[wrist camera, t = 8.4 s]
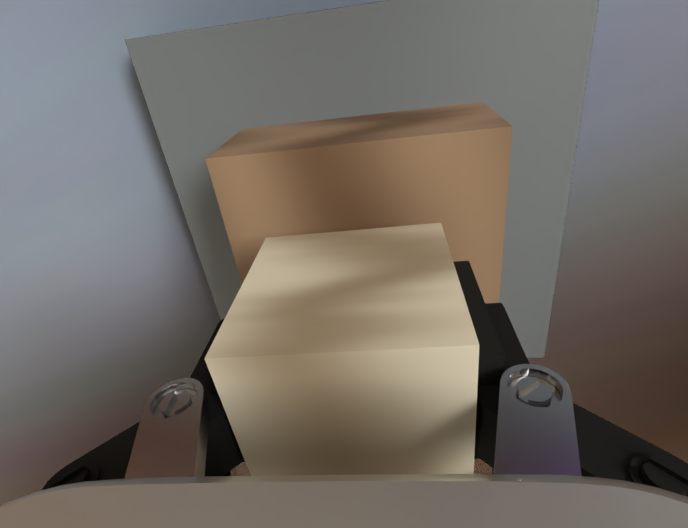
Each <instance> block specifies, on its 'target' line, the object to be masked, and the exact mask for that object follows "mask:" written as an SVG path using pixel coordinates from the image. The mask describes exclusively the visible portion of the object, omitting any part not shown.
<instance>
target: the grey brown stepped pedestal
mask: <svg viewBox="0 0 688 528" xmlns="http://www.w3.org/2000/svg"><path fill="white" fill-rule="evenodd" d="M598 6H599V0H388V1H381V2H374V3H368V4H361V5H354V6H348V7H341V8H334V9H327V10H321V11H314V12H307V13H301V14H294V15H287V16H280V17H274V18H267V19H260V20H254V21H247V22H240V23H234V24H227V25H220V26H213V27H207V28H200V29H193V30H187V31H180V32H173V33H166V34H160V35H153V36H146V37H140V38H133V39H126V40H125V42H126V45H127V48H128V51H129V54H130V57H131V60H132V63H133V65H134V68H135V71H136V74H137V77H138V80H139V83H140V86H141V89H142V92H143V95H144V98H145V101H146V103H147V106H148V109H149V112H150V115H151V118H152V121H153V124H154V127H155V130H156V133H157V136H158V139H159V141H160V144H161V147H162V150H163V153H164V156H165V159H166V162H167V165H168V168H169V171H170V174H171V177H172V180H173V182H174V185H175V188H176V191H177V194H178V197H179V200H180V203H181V206H182V209H183V212H184V215H185V218H186V220H187V223H188V226H189V229H190V232H191V235H192V238H193V241H194V244H195V247H196V250H197V253H198V256H199V258H200V261H201V264H202V267H203V270H204V273H205V276H206V279H207V282H208V285H209V288H210V291H211V294H212V297H213V299H214V302H215V305H216V308H217V311H218V314H219V317H220V320H222V319H225V317H226V315H227V313H228V311H229V309H230V307H231V305H232V303H233V301H234V300H235V298H236V296H237V294H238V292H239V290H240V288H241V286H242V284H243V282H244V280H245V278H246V276H247V274H248V272H249V270H250V268H251V266H252V264H253V262H254V260H255V258H256V256H257V254H258V252H259V250H260V248H261V246H262V244H263V243H264V241H265V239H266V238H269V237H280V236H292V235H304V234H315V233H327V232H338V231H350V230H361V229H373V228H385V227H396V226H408V225H419V224H431V223H441V224H442V227H443V230H444V234H445V237H446V240H447V243H448V246H449V250H450V253H451V256H452V259H453V262H455V261H469V262H470V265H471V267H472V270H473V273H474V275H475V278H476V281H477V283H478V286H479V288H480V291H481V294H482V296H483V299H484V302H485V303H502V304H503V306H504V308H505V310H506V312H507V314H508V317H509V319H510V321H511V323H512V326H513V328H514V330H515V332H516V335H517V337H518V339H519V341H520V344H521V346H522V348H523V350H524V353H525V355H526V357H527V358H540V357H544V355H545V348H546V342H547V335H548V329H549V322H550V316H551V309H552V303H553V296H554V290H555V284H556V277H557V271H558V264H559V258H560V251H561V245H562V238H563V232H564V225H565V219H566V213H567V206H568V200H569V193H570V187H571V180H572V174H573V167H574V161H575V154H576V148H577V141H578V135H579V129H580V122H581V116H582V109H583V103H584V96H585V90H586V83H587V77H588V70H589V64H590V58H591V51H592V45H593V38H594V32H595V25H596V19H597V12H598Z"/></svg>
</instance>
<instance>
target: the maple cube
mask: <svg viewBox="0 0 688 528" xmlns="http://www.w3.org/2000/svg"><path fill="white" fill-rule="evenodd" d="M204 359H205V362H206V364H207V367H208V369H209V372H210V374H211V377H212V379H213V382H214V384H215V387H216V389H217V392H218V394H219V397H220V399H221V402H222V405H223V407H224V410H225V412H226V415H227V417H228V420H229V422H230V425H231V427H232V430H233V432H234V435H235V437H236V440H237V442H238V445H239V447H240V450H241V453H242V455H243V458H244V460H245V463H246V465H247V468H248V470H249V473H250V475H251V476H277V475H377V474H474V455H475V432H476V410H477V388H478V366H479V342H478V339H477V336H476V332H475V329H474V326H473V323H472V320H471V316H470V313H469V310H468V307H467V304H466V301H465V297H464V294H463V291H462V288H461V285H460V281H459V278H458V275H457V272H456V269H455V265H454V262H453V259H452V256H451V253H450V250H449V246H448V243H447V240H446V237H445V234H444V230H443V227H442V224H441V223H431V224H419V225H408V226H396V227H385V228H373V229H361V230H350V231H338V232H327V233H315V234H304V235H292V236H280V237H269V238H266V239H265V241H264V243H263V244H262V246H261V248H260V250H259V252H258V254H257V256H256V258H255V260H254V262H253V264H252V266H251V268H250V270H249V272H248V274H247V276H246V278H245V280H244V282H243V284H242V286H241V288H240V290H239V292H238V294H237V296H236V298H235V300H234V301H233V303H232V305H231V307H230V309H229V311H228V313H227V315H226V317H225V319H224V321H223V323H222V325H221V327H220V329H219V331H218V333H217V335H216V337H215V339H214V341H213V343H212V345H211V347H210V349H209V351H208V353H207V355H206V356H205V358H204Z"/></svg>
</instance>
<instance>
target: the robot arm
mask: <svg viewBox="0 0 688 528" xmlns="http://www.w3.org/2000/svg"><path fill="white" fill-rule="evenodd" d="M454 265H455V269H456V272H457V275H458V278H459V281H460V285H461V288H462V291H463V294H464V297H465V301H466V304H467V307H468V310H469V313H470V316H471V320H472V323H473V326H474V329H475V332H476V336H477V339H478V342H479V366H478V388H477V410H476V432H475V455H474V459H479V458H480V459H481V460H483V461H484V462H485V463H487V464H488V465H490V466H491V467H492V468H493V469H492V474H377V475H277V476H236V466H237V465H239V464H240V463H241V462H245V460H244V458H243V455H242V453H241V450H240V447H239V445H238V442H237V440H236V437H235V435H234V432H233V430H232V427H231V425H230V422H229V420H228V417H227V415H226V412H225V410H224V407H223V405H222V402H221V399H220V397H219V394H218V392H217V389H216V387H215V384H214V382H213V379H212V377H211V374H210V372H209V369H208V367H207V364H206V362H205V359H204V358H205V356H206V355H207V353H208V351H209V349H210V347H211V345H212V343H213V341H214V339H215V337H216V335H217V333H218V331H219V329H220V327H221V325H222V323H223V321H224V319H222V320H221V321H220V322H219V324H218V325H217V327H216V329H215V331H214V333H213V335H212V337H211V339H210V341H209V343H208V345H207V346H206V348H205V350H204V352H203V354H202V356H201V358H200V360H199V362H198V364H197V366H196V367H195V369H194V371H193V373H192V375H191V377H190V378H179V379H175V380H173V381H170V382H168V383H166V384H164V385H162V386H160V387H159V388H158V389H157V390H155V391H154V392H153V393H152V394H151V395H150V397H149V398H148V399H147V401H146V403H145V405H144V408H143V411H142V415H141V419H140V422H138V423H137V424H135V425H133V426H132V427H130V428H128V429H127V430H125V431H123V432H122V433H120V434H118V435H117V436H115V437H113V438H112V439H110V440H108V441H107V442H105V443H103V444H102V445H100V446H98V447H97V448H95V449H93V450H92V451H90V452H89V453H87V454H85V455H84V456H82V457H80V458H79V459H77V460H75V461H74V462H72V463H70V464H69V465H67V466H66V467H64V468H63V469H61V470H60V471H59V472H57V473H56V474H55V475H54V476H53V477H52V478H51V479H50V480H49V481H48V482H47V483H46V485H45V486H44V487H43V489H42V490H41V491H37V492H33V493H31V494H28V495H25V496H22V497H20V498H17V499H14V500H11V501H9V502H6V503H4V504H2V505H0V528H688V464H687V463H685V462H684V461H682V460H681V459H679V458H678V457H676V456H674V455H672V454H670V453H668V452H666V451H664V450H662V449H660V448H658V447H657V446H655V445H653V444H651V443H649V442H647V441H645V440H643V439H641V438H639V437H637V436H635V435H634V434H632V433H630V432H628V431H626V430H624V429H622V428H620V427H618V426H616V425H614V424H612V423H611V422H609V421H607V420H605V419H603V418H601V417H599V416H597V415H595V414H593V413H591V412H589V411H587V410H586V409H584V408H582V407H580V406H578V405H576V404H574V403H573V401H572V393H571V390H570V387H569V385H568V383H567V382H566V381H565V380H564V378H563V377H561V376H560V375H559V374H557V373H556V372H555V371H553V370H551V369H548V368H546V367H543V366H539V365H535V364H529V362H528V360H527V357H526V355H525V353H524V350H523V348H522V346H521V344H520V341H519V339H518V337H517V335H516V332H515V330H514V328H513V326H512V323H511V321H510V319H509V317H508V314H507V312H506V310H505V308H504V306H503V304H502V303H485V302H484V299H483V296H482V294H481V291H480V288H479V286H478V283H477V281H476V278H475V275H474V273H473V270H472V267H471V265H470V262H469V261H455V262H454Z"/></svg>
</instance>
